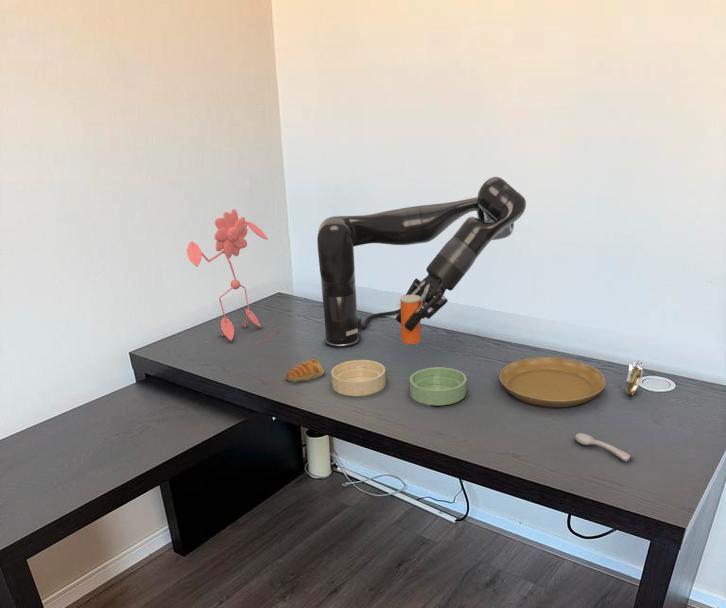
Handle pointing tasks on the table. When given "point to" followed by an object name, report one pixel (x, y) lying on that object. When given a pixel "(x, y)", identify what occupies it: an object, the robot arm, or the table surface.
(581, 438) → the spoon
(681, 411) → the table surface
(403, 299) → the cracker tube
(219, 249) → the figurine
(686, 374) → the table surface
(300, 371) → the pastry
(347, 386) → the oatmeal bowl
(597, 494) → the table surface
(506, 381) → the plant saucer
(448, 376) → the sage bowl
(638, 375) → the ring
